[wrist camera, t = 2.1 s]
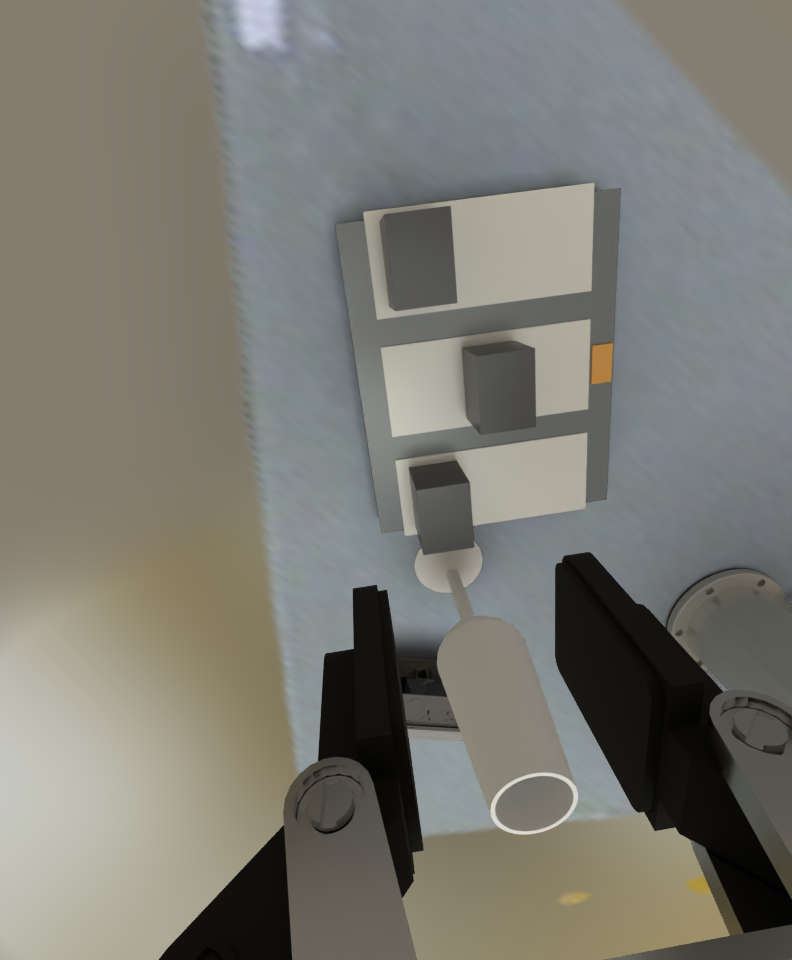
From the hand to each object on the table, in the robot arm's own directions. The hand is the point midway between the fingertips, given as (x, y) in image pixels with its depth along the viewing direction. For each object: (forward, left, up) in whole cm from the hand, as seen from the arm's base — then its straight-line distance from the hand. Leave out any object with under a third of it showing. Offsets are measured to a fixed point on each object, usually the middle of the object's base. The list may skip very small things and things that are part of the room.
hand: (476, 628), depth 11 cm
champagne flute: (-4, +19, -32) cm, 38 cm away
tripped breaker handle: (-8, +1, -29) cm, 30 cm away
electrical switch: (0, +31, -33) cm, 45 cm away
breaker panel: (-8, +1, -32) cm, 33 cm away
